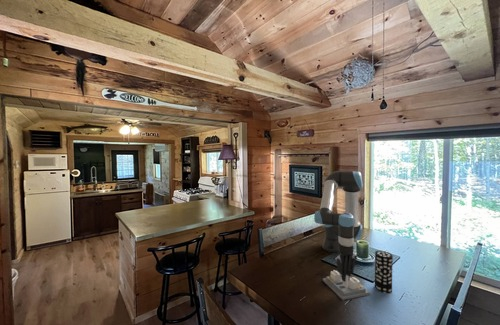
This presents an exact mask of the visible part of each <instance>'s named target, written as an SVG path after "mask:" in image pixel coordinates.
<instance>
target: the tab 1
mask: <svg viewBox="0 0 500 325" xmlns="http://www.w3.org/2000/svg"><path fill="white" fill-rule="evenodd" d="M330 276H331V280H332V281H333V282H337V281H341V274H339V272H338V270H335V269H333V271H332V270H331V271H330Z"/></svg>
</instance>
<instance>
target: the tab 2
mask: <svg viewBox="0 0 500 325" xmlns="http://www.w3.org/2000/svg"><path fill="white" fill-rule="evenodd" d="M360 285H361V281H360V280H359V279H358V278H357V277H353V276H352V277H351V278H349V288H350V289H351V290H356V289H360Z"/></svg>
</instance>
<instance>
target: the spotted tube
mask: <svg viewBox="0 0 500 325" xmlns="http://www.w3.org/2000/svg"><path fill="white" fill-rule="evenodd" d="M393 261H394V260H393V254H392V253H391V252H388V251H384V250H375V251H374V288H375V290H376V291H377V292H380V293H383V294H392V293H393Z"/></svg>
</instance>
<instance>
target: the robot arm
mask: <svg viewBox="0 0 500 325" xmlns="http://www.w3.org/2000/svg"><path fill="white" fill-rule="evenodd" d="M323 187H324V189H323V194H322V197H321V202H320V207H319V210H316V211H315V212H314V216H313V217H314V218H313V219H314V220H313V221H314V223H315V224H318V225H323V226H324V239H323V243H322V249H323V250H324V251H327V252H328V253H336V254H338V255H337V256H335V257H334V260H335V261H336V262H335V263H336V268H337V271H338V272H339V274H341V275H342V280H343V286H344V287H346V288H348V286H349V278H350V277H351V276H352V274H353V273H354V268H355V265H356V260H357V259H358V255H356V254H355V253H354V249H355V248H354V245H355V243H354V242H355V240H357V241H360V240H361V238H362V233H363V225H362V224H361V222H360V220H359V192H361V191H362V190H361V189H363V188H364V183H363V177H362V173H361V172H360V171H354V170H352V171H348V170H336V171H332V172H331V173H329V174H328V175H327V176H326V177H325V179H324V180H323ZM338 188H342V190H343V191H344V204H345V205H344V206H345V208H344V210H345V211H344V213H337V212H333V209H334V204H335V195H336V191H337V189H338Z"/></svg>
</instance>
